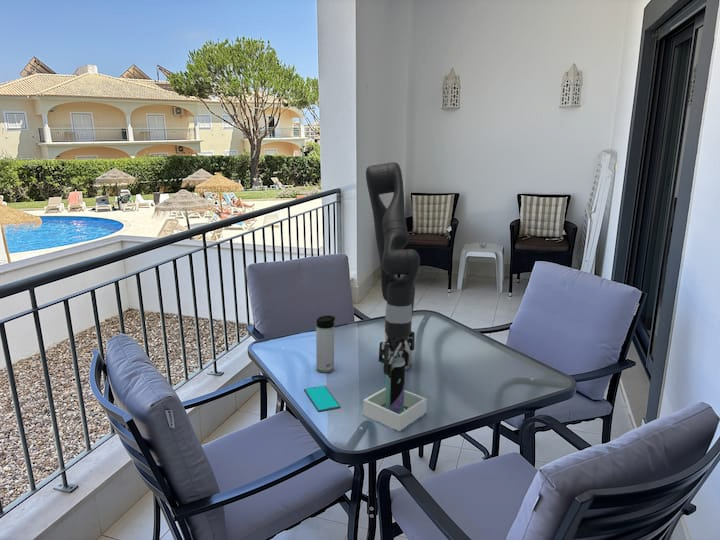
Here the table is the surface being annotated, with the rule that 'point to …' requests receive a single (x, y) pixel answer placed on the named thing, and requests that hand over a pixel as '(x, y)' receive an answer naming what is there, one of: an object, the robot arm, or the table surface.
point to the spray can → (396, 385)
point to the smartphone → (322, 398)
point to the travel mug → (325, 344)
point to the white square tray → (388, 417)
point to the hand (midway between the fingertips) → (396, 369)
